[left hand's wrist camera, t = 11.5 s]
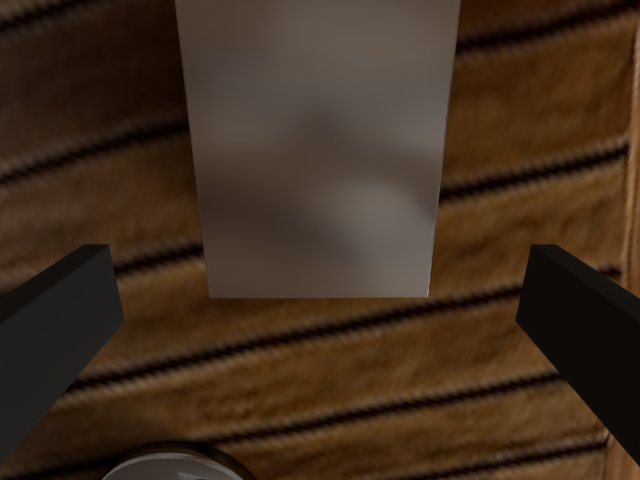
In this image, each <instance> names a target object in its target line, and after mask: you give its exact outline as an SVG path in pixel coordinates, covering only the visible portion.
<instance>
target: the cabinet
mask: <svg viewBox="0 0 640 480" xmlns="http://www.w3.org/2000/svg"><path fill="white" fill-rule="evenodd" d="M174 1H175V9H176V18H177V26H178V35H179V44H180V52H181V61H182V69H183V78H184V86H185V95H186V103H187V112H188V120H189V129H190V138H191V146H192V155H193V163H194V172H195V180H196V189H197V197H198V206H199V214H200V223H201V232H202V240H203V249H204V257H205V266H206V274H207V283H208V291H209V297H210V298H427V297H428V292H429V283H430V274H431V265H432V256H433V247H434V238H435V229H436V220H437V210H438V201H439V192H440V183H441V174H442V165H443V156H444V147H445V138H446V129H447V120H448V111H449V102H450V93H451V84H452V75H453V66H454V57H455V48H456V39H457V30H458V21H459V12H460V3H461V0H174Z"/></svg>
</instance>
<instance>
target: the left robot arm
mask: <svg viewBox="0 0 640 480" xmlns="http://www.w3.org/2000/svg"><path fill="white" fill-rule="evenodd" d="M124 321H125V320H124V316H123V311H122V306H121V301H120V296H119V292H118V287H117V282H116V277H115V273H114V268H113V263H112V258H111V254H110V249H109V244H84V245H82V246H81V247H79V248H78V249H76V250H75V251H73V252H72V253H70V254H69V255H67V256H65V257H64V258H62V259H61V260H59V261H58V262H56V263H55V264H53V265H52V266H50V267H48V268H47V269H45V270H44V271H42V272H41V273H39V274H38V275H36V276H35V277H33V278H32V279H30V280H28V281H27V282H25V283H24V284H22V285H21V286H19V287H18V288H16V289H15V290H13V291H12V292H10V293H8V294H7V295H5V296H4V297H2V298H1V299H0V467H1V465H2V464H3V463H4V462H5V461H6V460H7V458H8V457H9V456H10V455H11V454H12V453H13V451H14V450H15V449H16V448H17V447H18V445H19V444H20V443H21V442H22V441H23V440H24V438H25V437H26V436H27V435H28V434H29V433H30V431H31V430H32V429H33V428H34V427H35V425H36V424H37V423H38V422H39V421H40V420H41V418H42V417H43V416H44V415H45V414H46V413H47V411H48V410H49V409H50V408H51V407H52V406H53V404H54V403H55V402H56V401H57V400H58V398H59V397H60V396H61V395H62V394H63V393H64V391H65V390H66V389H67V388H68V387H69V386H70V384H71V383H72V382H73V381H74V380H75V378H76V377H77V376H78V375H79V374H80V373H81V371H82V370H83V369H84V368H85V367H86V366H87V364H88V363H89V362H90V361H91V360H92V359H93V357H94V356H95V355H96V354H97V353H98V351H99V350H100V349H101V348H102V347H103V346H104V344H105V343H106V342H107V341H108V340H109V339H110V337H111V336H112V335H113V334H114V333H115V331H116V330H117V329H118V328H119V327H120V326H121V324H122V323H123V322H124ZM515 321H516V322H517V323H518V324H519V326H520V327H521V328H522V329H523V330H524V332H525V333H526V334H527V335H528V336H529V337H530V339H531V340H532V341H533V342H534V343H535V344H536V346H537V347H538V348H539V349H540V350H541V351H542V353H543V354H544V355H545V356H546V357H547V359H548V360H549V361H550V362H551V363H552V364H553V366H554V367H555V368H556V369H557V370H558V371H559V373H560V374H561V375H562V376H563V377H564V378H565V380H566V381H567V382H568V383H569V384H570V386H571V387H572V388H573V389H574V390H575V391H576V393H577V394H578V395H579V396H580V397H581V398H582V400H583V401H584V402H585V403H586V404H587V406H588V407H589V408H590V409H591V410H592V411H593V413H594V414H595V415H596V416H597V417H598V418H599V420H600V421H601V422H602V423H603V424H604V425H605V427H606V428H607V429H608V430H609V431H610V433H611V434H612V435H613V436H614V437H615V438H616V440H617V441H618V442H619V443H620V444H621V445H622V447H623V448H624V449H625V450H626V451H627V453H628V454H629V455H630V456H631V457H632V458H633V460H634V461H635V462H636V463H637V464H638V465H639V467H640V299H639V298H638V297H636V296H635V295H633V294H632V293H630V292H628V291H627V290H625V289H624V288H622V287H621V286H619V285H618V284H616V283H615V282H613V281H612V280H610V279H608V278H607V277H605V276H604V275H602V274H601V273H599V272H598V271H596V270H595V269H593V268H592V267H590V266H588V265H587V264H585V263H584V262H582V261H581V260H579V259H578V258H576V257H575V256H573V255H571V254H570V253H568V252H567V251H565V250H564V249H562V248H561V247H559V246H558V245H556V244H531V249H530V254H529V258H528V263H527V268H526V273H525V277H524V282H523V287H522V292H521V296H520V301H519V306H518V311H517V316H516V320H515ZM101 480H255V479H254V478H253V477H252V475H251V474H250V473H249V472H248V471H247V470H246V469H245V468H243V467H242V466H241V465H240V464H238V463H237V462H236V461H234V460H232V459H231V458H229V457H227V456H225V455H223V454H221V453H219V452H216V451H214V450H211V449H208V448H204V447H200V446H196V445H191V444H182V443H161V444H153V445H148V446H144V447H141V448H138V449H135V450H132V451H130V452H128V453H126V454H124V455H123V456H121V457H120V458H118V459H117V460H116V461H115V462H114V463H113V464H112V465H111V466H110V467H109V468H108V469H107V471H106V472H105V474H104V476H103V478H102V479H101Z"/></svg>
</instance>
